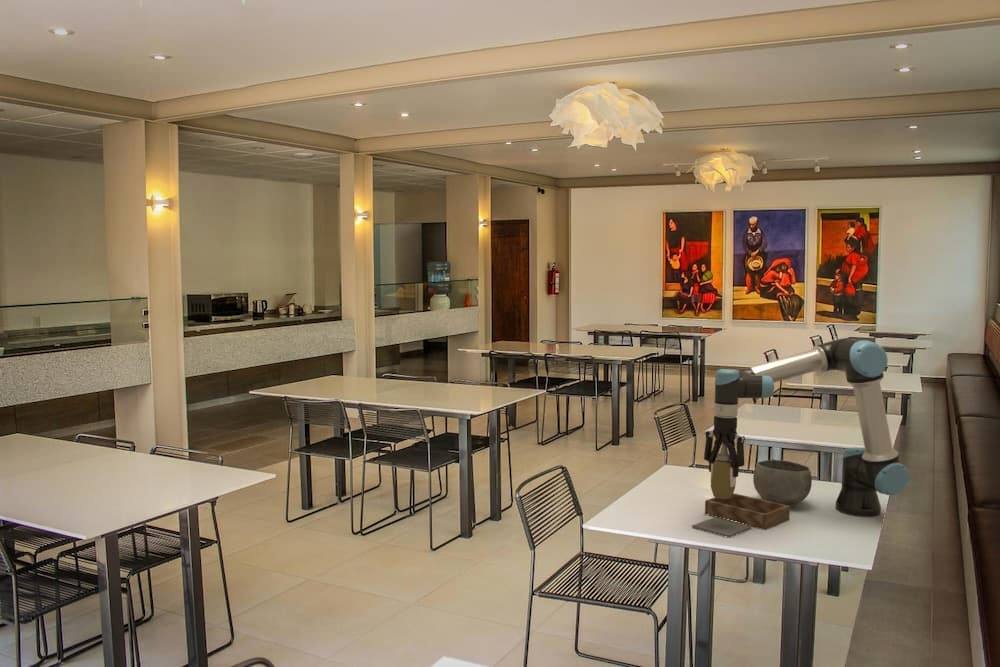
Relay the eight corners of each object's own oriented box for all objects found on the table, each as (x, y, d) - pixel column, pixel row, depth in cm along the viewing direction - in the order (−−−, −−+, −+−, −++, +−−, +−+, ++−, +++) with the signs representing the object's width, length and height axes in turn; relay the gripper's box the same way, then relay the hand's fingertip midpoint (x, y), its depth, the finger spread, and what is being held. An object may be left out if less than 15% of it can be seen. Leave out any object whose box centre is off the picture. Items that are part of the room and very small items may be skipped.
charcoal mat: (751, 529, 278) (751, 526, 278) (729, 537, 268) (729, 535, 268) (714, 519, 288) (714, 517, 288) (692, 527, 278) (692, 525, 278)
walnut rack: (789, 520, 288) (789, 505, 288) (765, 529, 277) (766, 515, 277) (729, 505, 305) (729, 492, 305) (704, 514, 294) (705, 500, 293)
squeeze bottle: (717, 501, 272) (720, 447, 271) (705, 494, 280) (707, 442, 279) (739, 499, 274) (741, 446, 273) (726, 493, 282) (728, 441, 281)
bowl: (800, 515, 294) (802, 473, 293) (744, 505, 306) (745, 465, 305) (817, 503, 310) (819, 463, 309) (763, 493, 323) (765, 455, 322)
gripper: (694, 413, 279) (691, 480, 281) (746, 421, 265) (743, 492, 267) (706, 410, 285) (703, 476, 286) (758, 418, 271) (755, 488, 272)
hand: (723, 484), depth 277 cm, fingers closed on squeeze bottle, 6 cm apart
